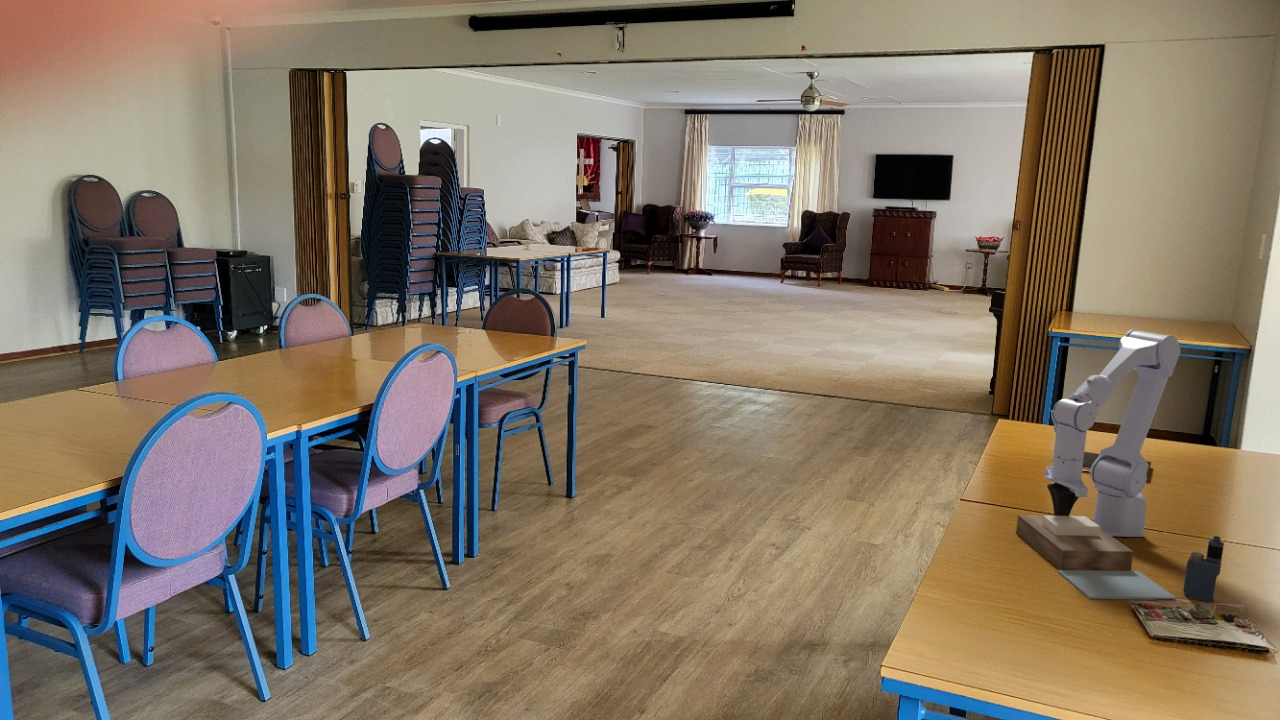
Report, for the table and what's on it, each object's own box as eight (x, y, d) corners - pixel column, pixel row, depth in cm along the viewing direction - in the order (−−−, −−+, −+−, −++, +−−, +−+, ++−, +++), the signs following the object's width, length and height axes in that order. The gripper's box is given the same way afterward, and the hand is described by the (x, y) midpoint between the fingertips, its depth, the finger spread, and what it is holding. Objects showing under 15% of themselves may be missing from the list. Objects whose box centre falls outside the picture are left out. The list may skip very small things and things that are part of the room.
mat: (1138, 573, 183) (1138, 571, 182) (1175, 599, 171) (1176, 597, 171) (1058, 572, 182) (1058, 570, 182) (1089, 598, 170) (1089, 596, 170)
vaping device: (1215, 603, 170) (1225, 540, 167) (1182, 596, 172) (1191, 534, 170) (1215, 598, 172) (1225, 536, 170) (1182, 591, 174) (1191, 530, 172)
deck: (1079, 533, 203) (1081, 516, 202) (1130, 570, 183) (1133, 551, 183) (1016, 532, 202) (1018, 515, 202) (1060, 570, 183) (1062, 550, 182)
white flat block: (1084, 525, 197) (1085, 516, 196) (1098, 535, 191) (1100, 526, 190) (1041, 524, 196) (1042, 515, 196) (1055, 535, 190) (1056, 525, 190)
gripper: (1033, 446, 202) (1027, 507, 204) (1066, 466, 187) (1058, 531, 190) (1065, 447, 202) (1058, 507, 204) (1100, 467, 188) (1092, 531, 190)
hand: (1061, 519), depth 197 cm, fingers closed
